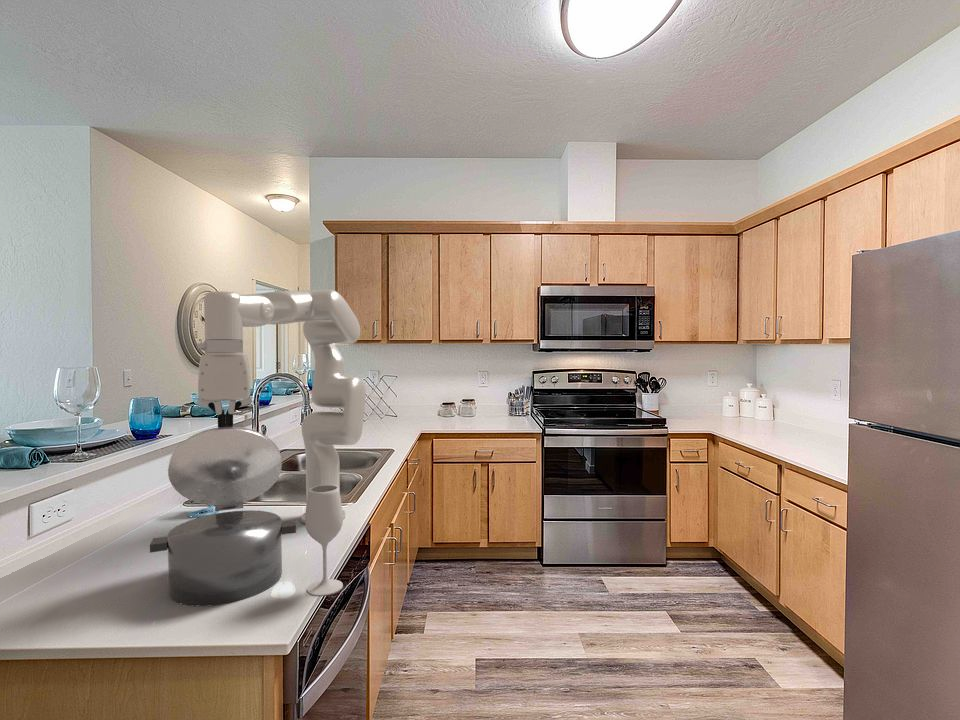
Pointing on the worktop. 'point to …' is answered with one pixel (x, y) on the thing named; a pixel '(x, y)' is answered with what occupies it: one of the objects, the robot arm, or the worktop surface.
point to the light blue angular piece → (195, 513)
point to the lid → (225, 467)
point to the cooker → (224, 556)
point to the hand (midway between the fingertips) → (225, 431)
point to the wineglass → (324, 530)
